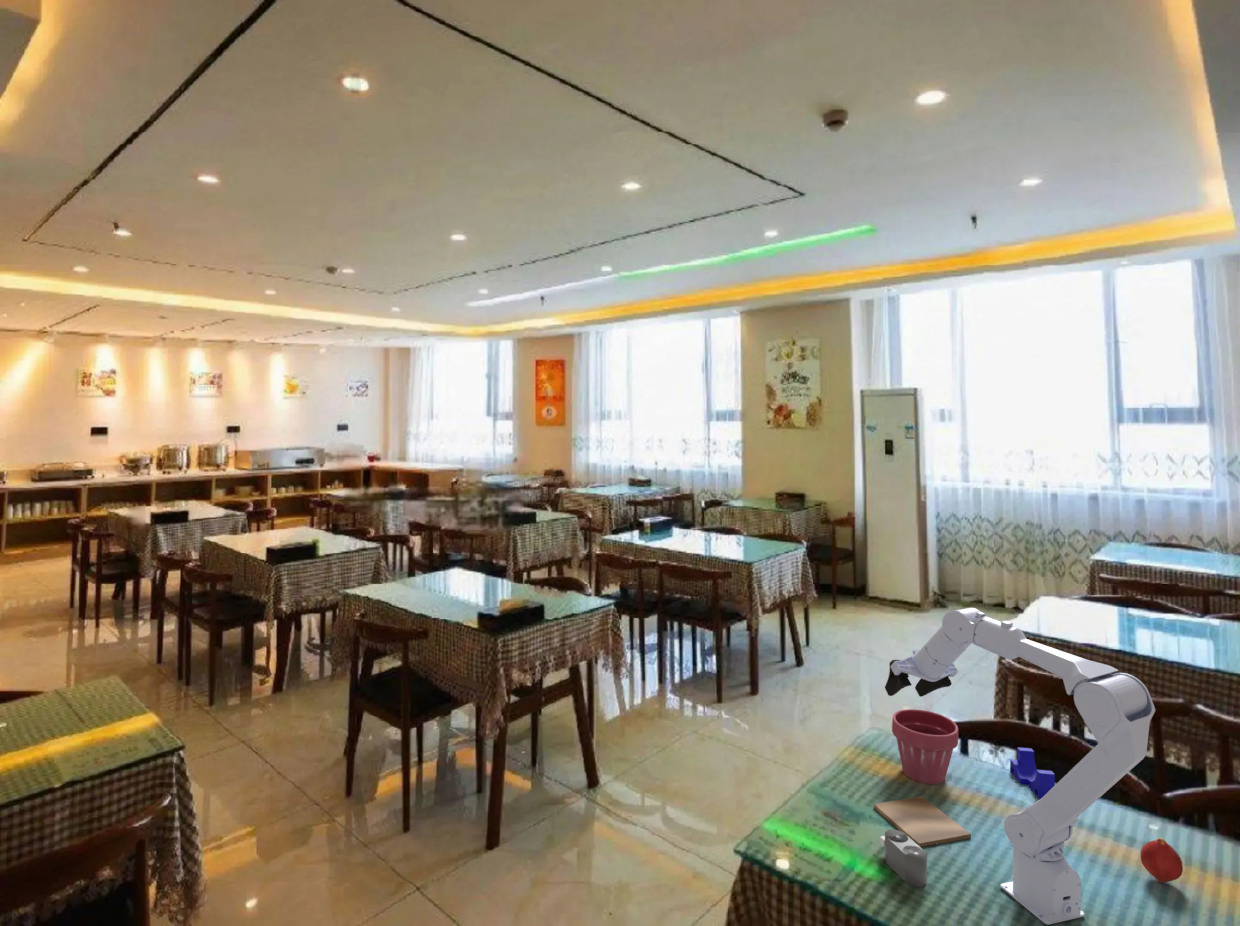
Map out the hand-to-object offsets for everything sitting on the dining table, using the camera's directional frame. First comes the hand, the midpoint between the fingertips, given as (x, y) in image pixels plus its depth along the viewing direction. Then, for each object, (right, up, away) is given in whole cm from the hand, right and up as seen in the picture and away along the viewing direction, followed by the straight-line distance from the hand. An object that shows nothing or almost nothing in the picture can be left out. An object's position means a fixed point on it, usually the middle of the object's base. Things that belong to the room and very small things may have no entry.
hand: (903, 691), depth 135 cm
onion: (+37, -27, -20) cm, 50 cm away
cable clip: (+35, -26, +12) cm, 45 cm away
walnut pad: (+3, -26, -2) cm, 27 cm away
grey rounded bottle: (-7, -27, -17) cm, 32 cm away
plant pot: (+13, -26, +17) cm, 33 cm away
